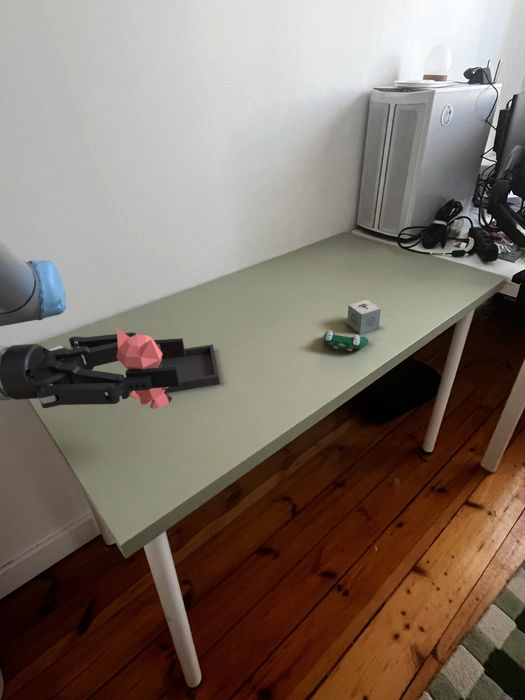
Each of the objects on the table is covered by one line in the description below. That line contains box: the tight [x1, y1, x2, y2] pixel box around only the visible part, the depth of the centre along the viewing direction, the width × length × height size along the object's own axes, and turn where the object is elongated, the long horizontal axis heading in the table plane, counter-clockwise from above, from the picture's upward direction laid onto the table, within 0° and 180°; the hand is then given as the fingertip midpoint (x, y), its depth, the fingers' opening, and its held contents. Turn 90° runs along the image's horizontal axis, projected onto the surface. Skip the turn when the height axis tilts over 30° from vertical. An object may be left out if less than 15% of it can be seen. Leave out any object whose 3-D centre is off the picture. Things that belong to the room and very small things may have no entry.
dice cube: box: [346, 299, 382, 335], centre depth 97 cm, size 5×5×5 cm
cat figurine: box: [116, 327, 173, 410], centre depth 59 cm, size 7×7×12 cm
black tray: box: [158, 344, 221, 394], centre depth 87 cm, size 12×12×2 cm
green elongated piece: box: [323, 330, 369, 352], centre depth 91 cm, size 9×4×6 cm
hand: (180, 361), depth 59 cm, fingers closed on cat figurine, 6 cm apart
